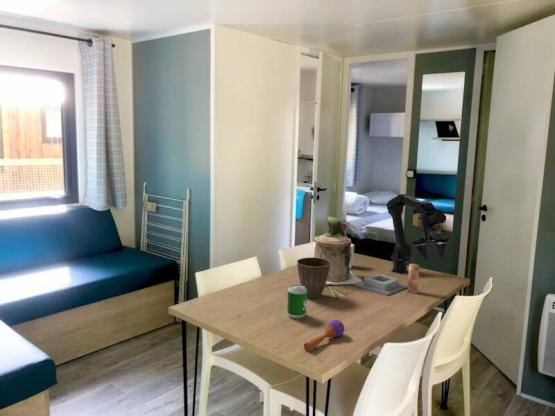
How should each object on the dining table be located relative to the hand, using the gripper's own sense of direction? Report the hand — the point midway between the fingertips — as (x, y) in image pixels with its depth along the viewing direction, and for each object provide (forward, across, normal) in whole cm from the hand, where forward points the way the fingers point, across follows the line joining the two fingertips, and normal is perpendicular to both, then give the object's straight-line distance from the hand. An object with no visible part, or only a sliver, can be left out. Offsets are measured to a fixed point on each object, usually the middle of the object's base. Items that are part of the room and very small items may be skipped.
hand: (434, 258), depth 219 cm
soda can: (+18, -78, -8) cm, 80 cm away
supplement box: (-2, -24, +46) cm, 51 cm away
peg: (+14, -14, +2) cm, 20 cm away
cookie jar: (+4, -41, +31) cm, 51 cm away
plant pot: (+11, -62, +10) cm, 63 cm away
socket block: (+10, -24, +12) cm, 29 cm away
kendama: (+27, -77, -31) cm, 87 cm away
